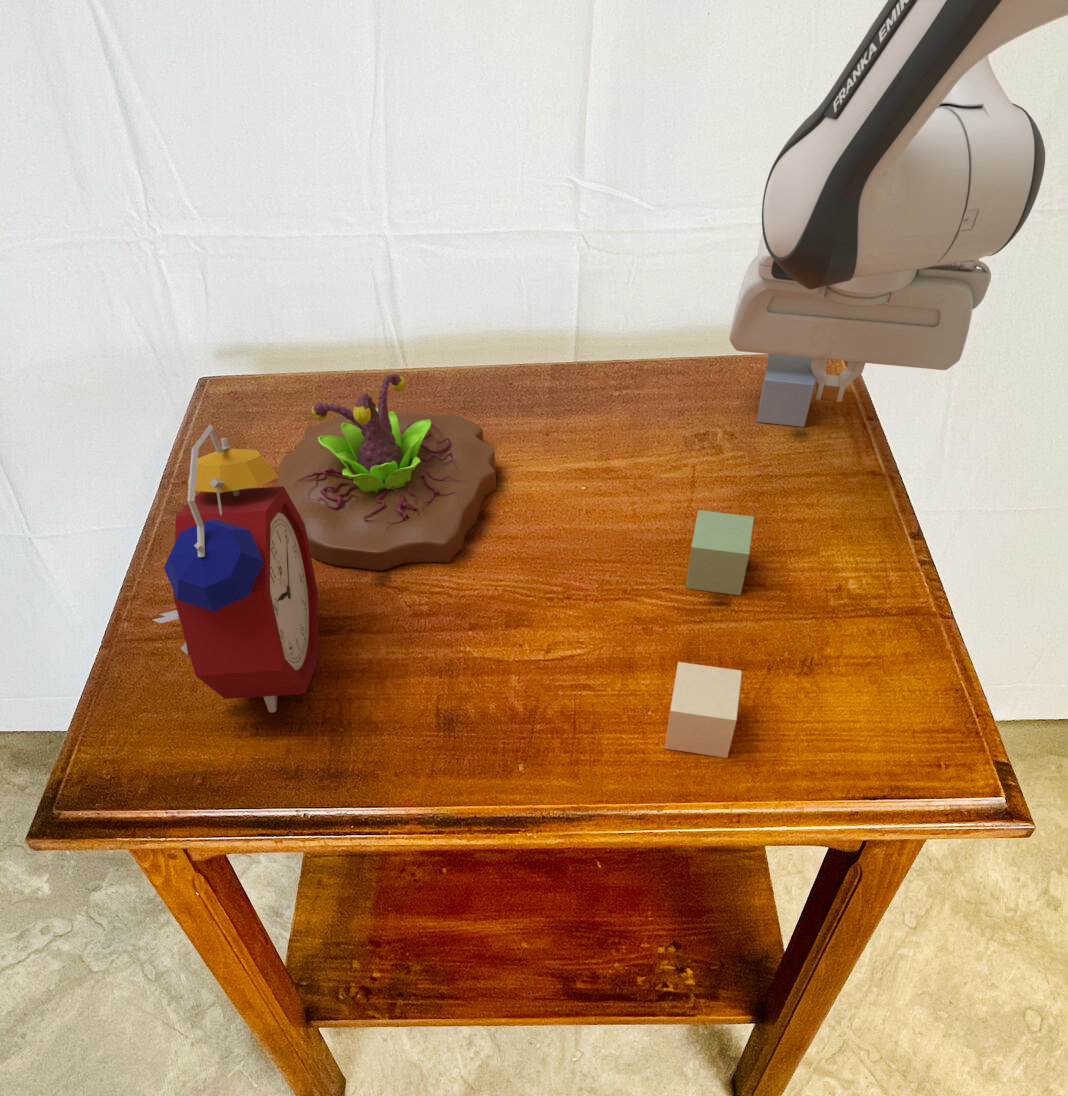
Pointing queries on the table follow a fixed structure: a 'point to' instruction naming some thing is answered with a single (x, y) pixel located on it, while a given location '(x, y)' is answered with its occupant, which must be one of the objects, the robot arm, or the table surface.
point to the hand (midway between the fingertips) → (827, 397)
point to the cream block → (703, 709)
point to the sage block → (719, 552)
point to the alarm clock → (243, 579)
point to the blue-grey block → (786, 390)
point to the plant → (387, 483)
